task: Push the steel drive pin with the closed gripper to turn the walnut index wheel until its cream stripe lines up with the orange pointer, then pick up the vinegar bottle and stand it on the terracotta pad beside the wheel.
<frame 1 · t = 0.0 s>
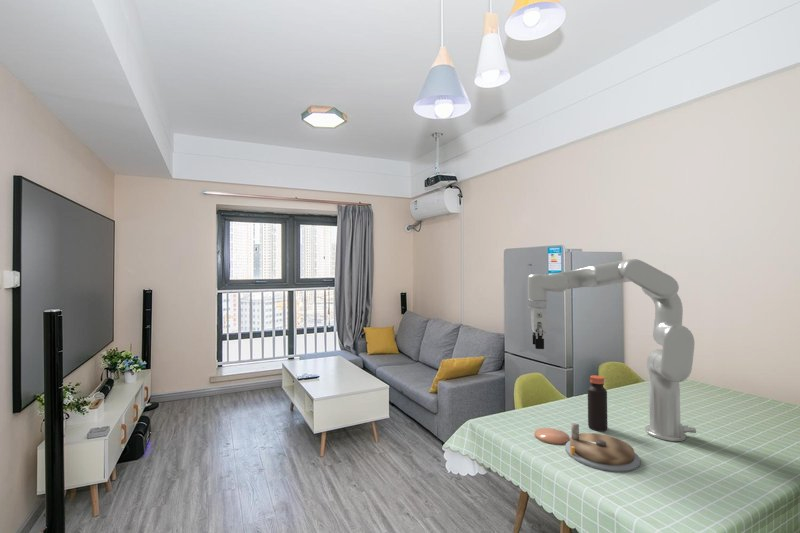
hand: (538, 346, 154), 31 cm above the table, tool pointing down, fingers open, 9 cm apart
pad: (551, 437, 141), on the table
index wheel: (601, 440, 127), point 5 cm above the table, hinge at 0.0°
wheel base: (601, 454, 127), on the table
vinegar: (597, 428, 150), on the table
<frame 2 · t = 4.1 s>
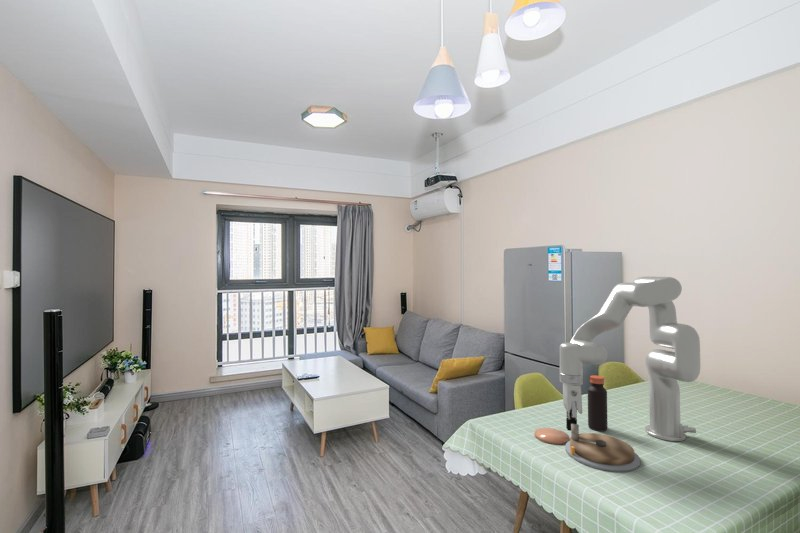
hand: (571, 429, 135), 5 cm above the table, tool pointing down, fingers closed
index wheel: (601, 440, 127), point 5 cm above the table, hinge at 3.4°, touching gripper
everything else where it was.
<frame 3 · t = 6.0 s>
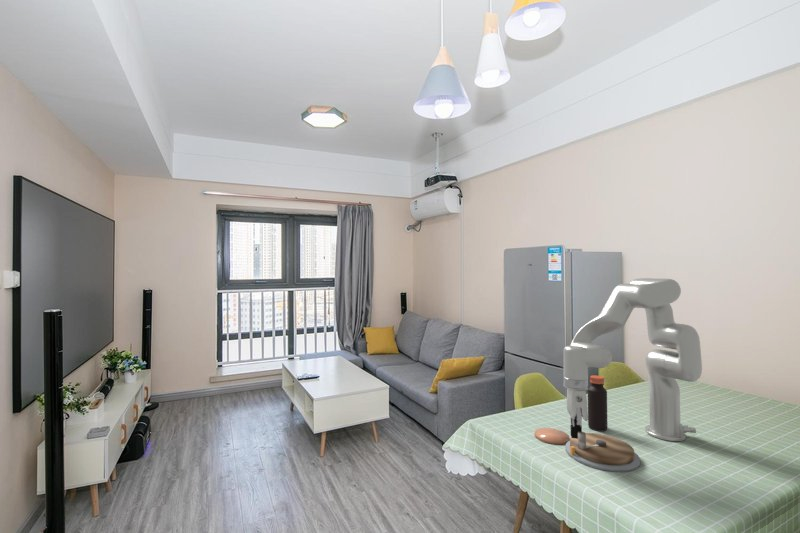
hand: (576, 437, 128), 5 cm above the table, tool pointing down, fingers closed
index wheel: (601, 440, 127), point 5 cm above the table, hinge at 53.8°, touching gripper
everything else where it was.
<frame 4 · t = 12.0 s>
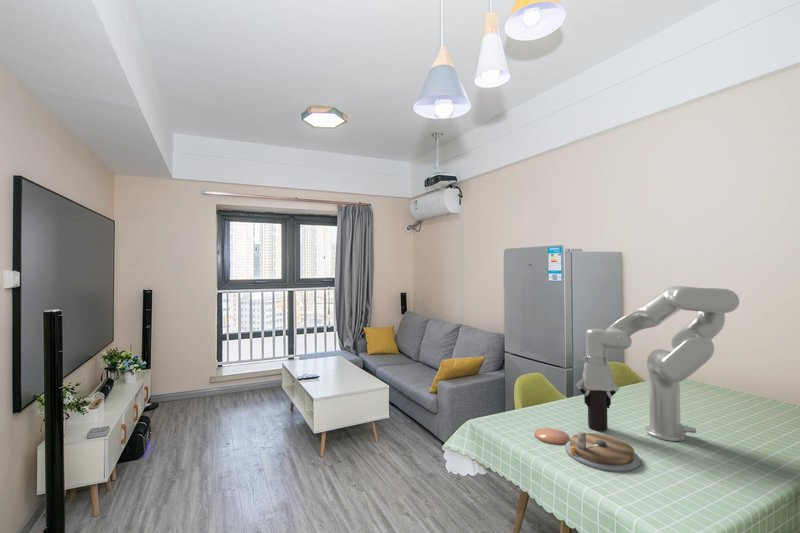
hand: (597, 405, 150), 9 cm above the table, tool pointing down, fingers closed on vinegar, 6 cm apart
index wheel: (601, 440, 127), point 5 cm above the table, hinge at 53.9°
vinegar: (597, 428, 150), on the table, touching gripper
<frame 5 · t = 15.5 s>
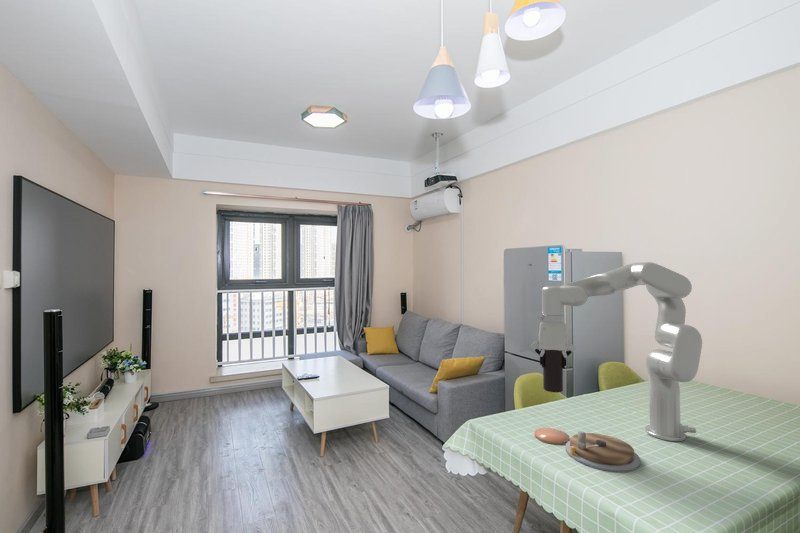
hand: (552, 366, 142), 26 cm above the table, tool pointing down, fingers closed on vinegar, 6 cm apart
vinegar: (553, 390, 142), point 17 cm above the table, touching gripper
everything else where it was.
when the fingers open (11 cm above the table, at t = 18.9 s): vinegar drops 1 cm, resting on pad.
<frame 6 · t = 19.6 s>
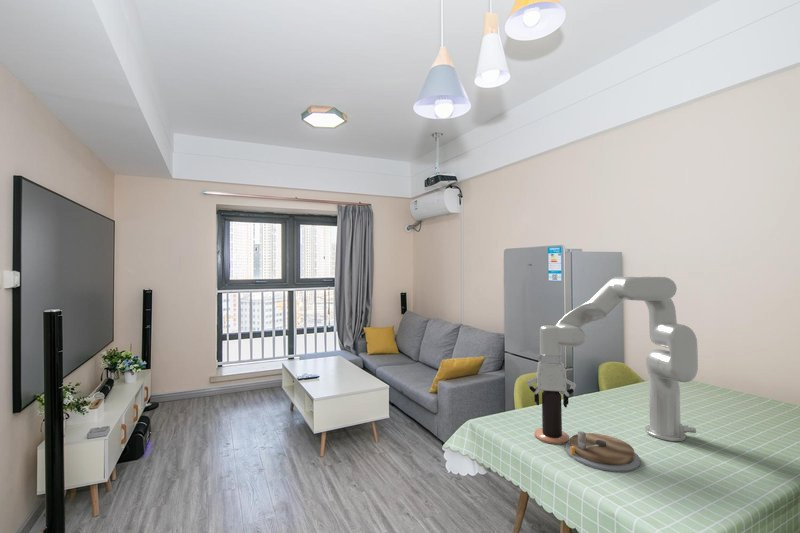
hand: (551, 405, 142), 12 cm above the table, tool pointing down, fingers open, 9 cm apart
vinegar: (552, 435, 141), point 1 cm above the table, touching pad
everything else where it was.
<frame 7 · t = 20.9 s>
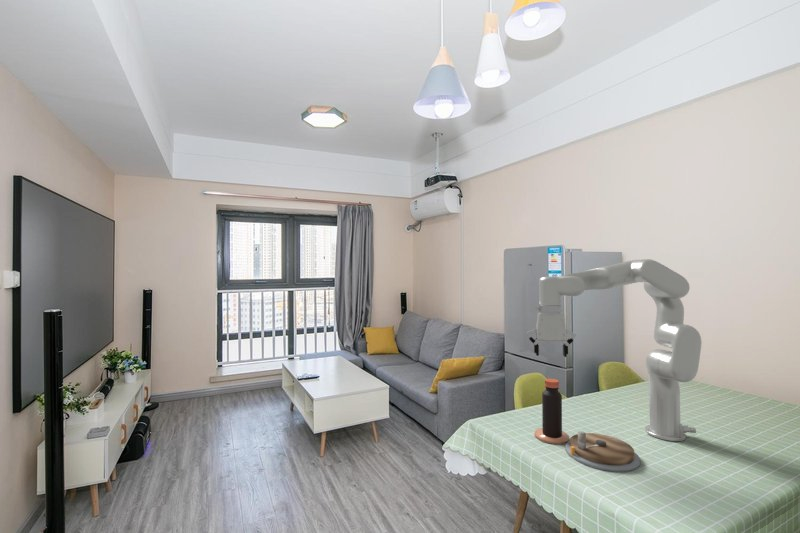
hand: (550, 355, 142), 30 cm above the table, tool pointing down, fingers open, 9 cm apart
nothing on the table moved.
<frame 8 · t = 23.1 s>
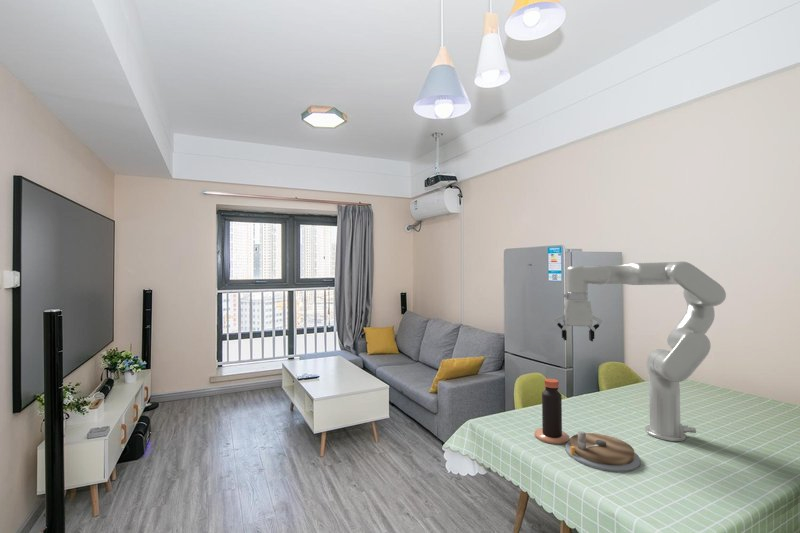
hand: (577, 340, 151), 34 cm above the table, tool pointing down, fingers open, 9 cm apart
nothing on the table moved.
at the end: index wheel at +54° (first picture: +0°); vinegar 0.2 cm from the pad (horizontally); vinegar tilted 0° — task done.
